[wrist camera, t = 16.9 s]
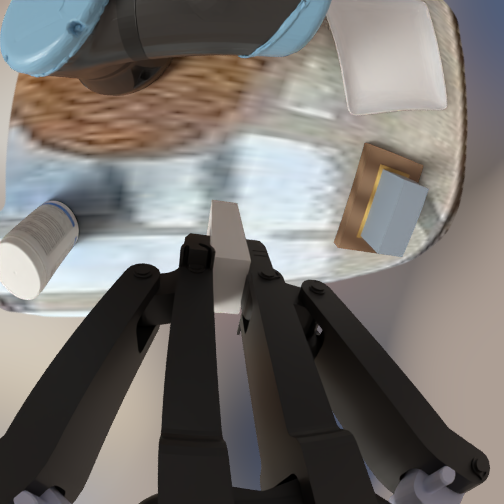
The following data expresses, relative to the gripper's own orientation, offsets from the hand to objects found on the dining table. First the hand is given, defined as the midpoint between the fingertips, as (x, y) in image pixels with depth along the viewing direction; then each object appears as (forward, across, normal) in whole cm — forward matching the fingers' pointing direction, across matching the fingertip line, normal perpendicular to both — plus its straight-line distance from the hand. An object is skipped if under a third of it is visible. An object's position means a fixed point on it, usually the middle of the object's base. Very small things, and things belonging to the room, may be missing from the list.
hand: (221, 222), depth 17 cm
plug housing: (+22, +28, -2) cm, 36 cm away
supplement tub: (+25, -26, -14) cm, 38 cm away
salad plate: (+25, +22, +24) cm, 41 cm away
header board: (+24, +28, -2) cm, 37 cm away
